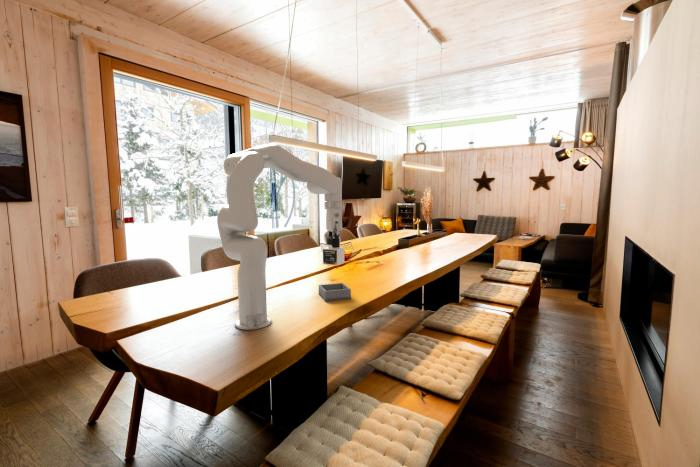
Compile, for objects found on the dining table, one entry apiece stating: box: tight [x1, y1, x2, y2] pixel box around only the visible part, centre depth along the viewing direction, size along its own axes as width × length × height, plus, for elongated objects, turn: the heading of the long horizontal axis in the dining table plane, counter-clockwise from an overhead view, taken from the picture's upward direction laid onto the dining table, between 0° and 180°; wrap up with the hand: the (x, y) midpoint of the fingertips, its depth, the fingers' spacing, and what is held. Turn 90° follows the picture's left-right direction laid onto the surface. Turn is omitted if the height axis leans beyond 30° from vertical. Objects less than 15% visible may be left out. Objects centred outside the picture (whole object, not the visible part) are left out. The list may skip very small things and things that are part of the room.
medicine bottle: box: [322, 236, 345, 266], centre depth 155 cm, size 7×7×12 cm
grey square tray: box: [318, 282, 352, 303], centre depth 157 cm, size 12×12×4 cm
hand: (333, 246), depth 154 cm, fingers closed on medicine bottle, 6 cm apart
